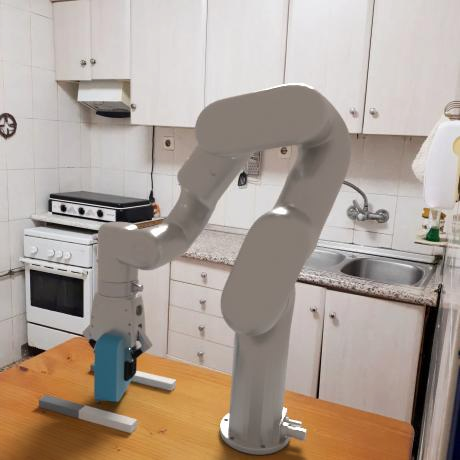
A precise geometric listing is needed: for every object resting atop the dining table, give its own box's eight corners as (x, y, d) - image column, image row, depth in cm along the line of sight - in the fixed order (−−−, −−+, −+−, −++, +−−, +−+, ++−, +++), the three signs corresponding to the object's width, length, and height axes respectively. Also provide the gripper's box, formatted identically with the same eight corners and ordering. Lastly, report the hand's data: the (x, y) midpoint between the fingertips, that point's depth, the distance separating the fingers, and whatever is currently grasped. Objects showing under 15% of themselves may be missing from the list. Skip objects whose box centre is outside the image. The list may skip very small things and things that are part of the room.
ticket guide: (175, 386, 98) (176, 379, 98) (131, 433, 81) (131, 425, 81) (95, 367, 104) (95, 361, 104) (38, 407, 87) (38, 399, 87)
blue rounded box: (114, 372, 98) (115, 319, 96) (135, 374, 98) (136, 321, 96) (93, 403, 86) (94, 342, 84) (117, 405, 86) (118, 344, 84)
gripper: (166, 288, 89) (163, 375, 92) (91, 275, 95) (90, 358, 98) (147, 299, 82) (144, 393, 85) (67, 285, 88) (67, 373, 91)
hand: (115, 373), depth 91 cm, fingers closed on blue rounded box, 5 cm apart
